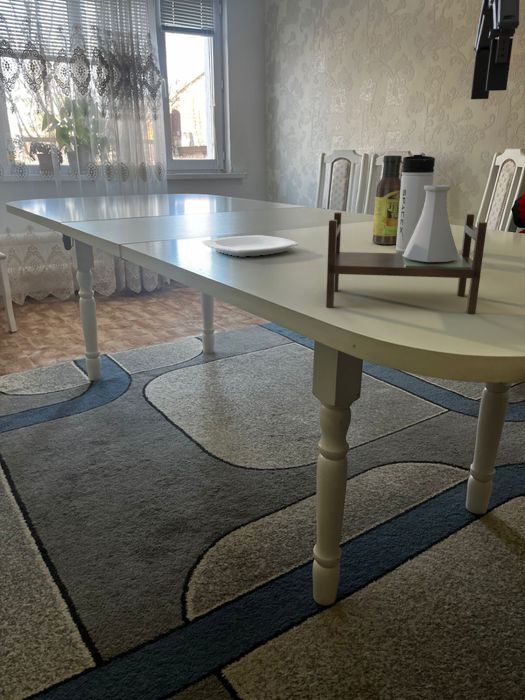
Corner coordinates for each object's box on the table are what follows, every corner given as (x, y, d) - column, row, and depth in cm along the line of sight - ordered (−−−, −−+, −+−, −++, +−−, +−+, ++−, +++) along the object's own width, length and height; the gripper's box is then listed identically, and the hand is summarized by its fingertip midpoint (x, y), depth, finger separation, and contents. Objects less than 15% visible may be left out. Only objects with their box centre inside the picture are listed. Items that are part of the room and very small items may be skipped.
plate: (261, 241, 134) (261, 233, 133) (310, 252, 119) (310, 243, 118) (191, 249, 124) (191, 240, 123) (234, 262, 109) (234, 252, 108)
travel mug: (424, 252, 117) (433, 154, 110) (427, 258, 111) (437, 154, 104) (394, 252, 118) (402, 154, 112) (396, 257, 112) (404, 154, 105)
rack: (463, 294, 83) (473, 213, 79) (475, 314, 73) (487, 222, 69) (332, 289, 87) (334, 212, 82) (326, 307, 76) (328, 220, 72)
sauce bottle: (387, 246, 125) (393, 155, 119) (366, 243, 130) (371, 155, 123) (404, 243, 129) (411, 154, 122) (384, 240, 134) (389, 155, 127)
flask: (393, 257, 79) (399, 185, 75) (434, 253, 81) (441, 183, 78) (425, 265, 72) (432, 187, 69) (468, 261, 75) (477, 186, 71)
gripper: (465, -39, 89) (451, 102, 96) (496, -106, 66) (474, 86, 73) (514, -43, 88) (496, 101, 95) (563, -112, 65) (534, 85, 72)
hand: (486, 95), depth 84 cm, fingers open, 13 cm apart
